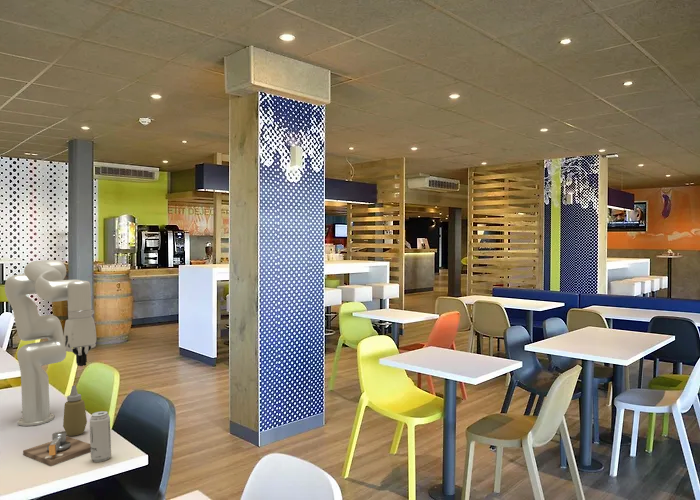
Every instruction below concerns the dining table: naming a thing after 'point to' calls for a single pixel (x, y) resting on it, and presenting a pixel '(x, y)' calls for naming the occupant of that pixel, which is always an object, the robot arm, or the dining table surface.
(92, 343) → the robot arm
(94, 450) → the energy drink can
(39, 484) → the dining table surface
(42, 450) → the walnut stand
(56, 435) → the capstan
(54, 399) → the dining table surface
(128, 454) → the dining table surface
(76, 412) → the squeeze bottle
